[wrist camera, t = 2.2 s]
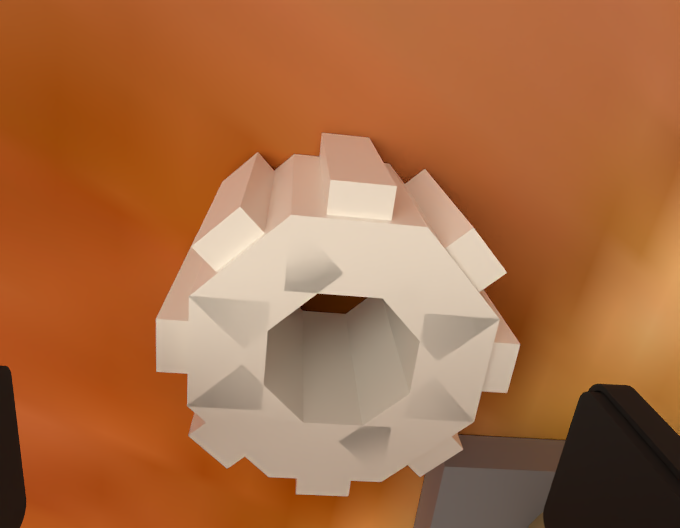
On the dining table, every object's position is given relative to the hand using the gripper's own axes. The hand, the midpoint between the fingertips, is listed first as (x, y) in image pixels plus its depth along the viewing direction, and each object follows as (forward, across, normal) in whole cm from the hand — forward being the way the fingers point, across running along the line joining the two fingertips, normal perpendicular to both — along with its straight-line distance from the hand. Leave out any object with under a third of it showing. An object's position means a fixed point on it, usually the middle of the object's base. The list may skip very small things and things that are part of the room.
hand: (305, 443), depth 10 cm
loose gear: (+7, -1, 0) cm, 7 cm away
